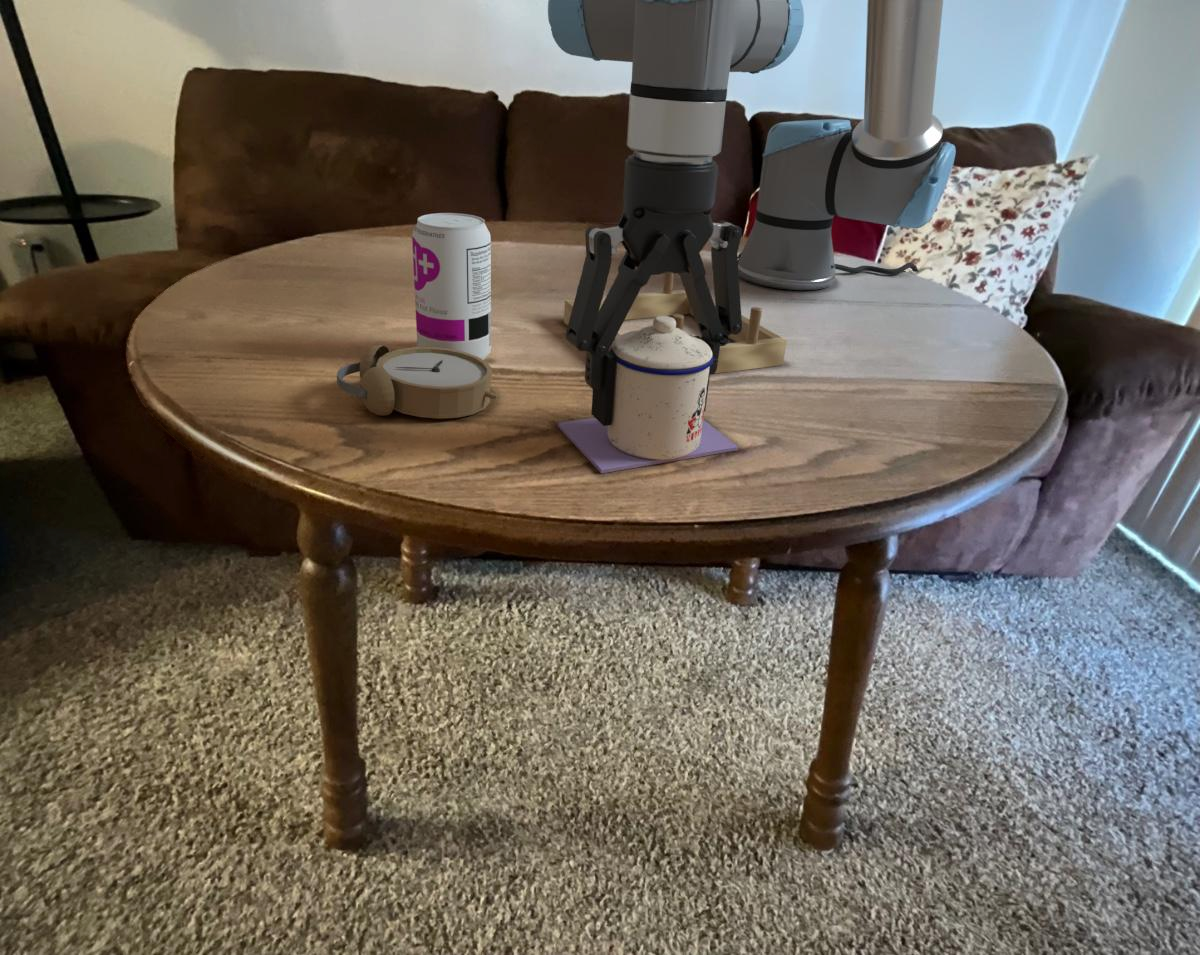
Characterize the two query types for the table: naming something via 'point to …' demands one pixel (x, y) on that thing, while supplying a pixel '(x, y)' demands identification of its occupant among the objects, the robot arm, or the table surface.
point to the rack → (751, 343)
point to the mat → (609, 458)
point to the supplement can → (453, 282)
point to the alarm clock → (420, 382)
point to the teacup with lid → (659, 391)
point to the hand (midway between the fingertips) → (649, 412)
